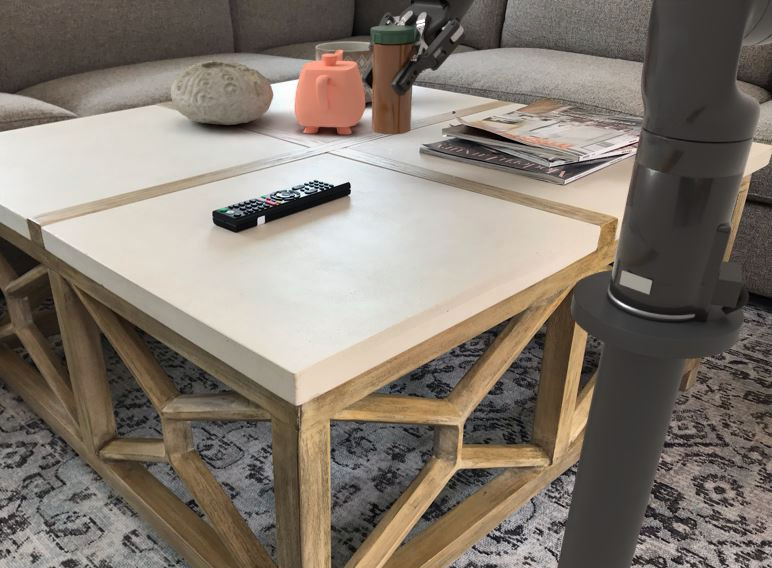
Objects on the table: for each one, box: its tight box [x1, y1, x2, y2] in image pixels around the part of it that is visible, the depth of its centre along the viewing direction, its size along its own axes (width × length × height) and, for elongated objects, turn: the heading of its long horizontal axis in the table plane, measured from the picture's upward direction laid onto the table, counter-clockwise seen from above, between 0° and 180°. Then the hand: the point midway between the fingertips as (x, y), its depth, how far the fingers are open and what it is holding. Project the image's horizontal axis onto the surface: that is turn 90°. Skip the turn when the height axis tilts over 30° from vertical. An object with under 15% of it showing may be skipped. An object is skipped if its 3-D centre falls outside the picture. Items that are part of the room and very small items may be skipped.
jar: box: [371, 42, 413, 136], centre depth 96 cm, size 5×5×12 cm
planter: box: [314, 41, 373, 104], centre depth 143 cm, size 13×13×10 cm
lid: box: [369, 25, 417, 44], centre depth 93 cm, size 6×6×2 cm
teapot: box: [294, 50, 366, 135], centre depth 125 cm, size 20×12×12 cm, turn 170°
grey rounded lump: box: [169, 59, 274, 126], centre depth 129 cm, size 18×18×10 cm
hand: (381, 87), depth 95 cm, fingers closed on jar, 5 cm apart
